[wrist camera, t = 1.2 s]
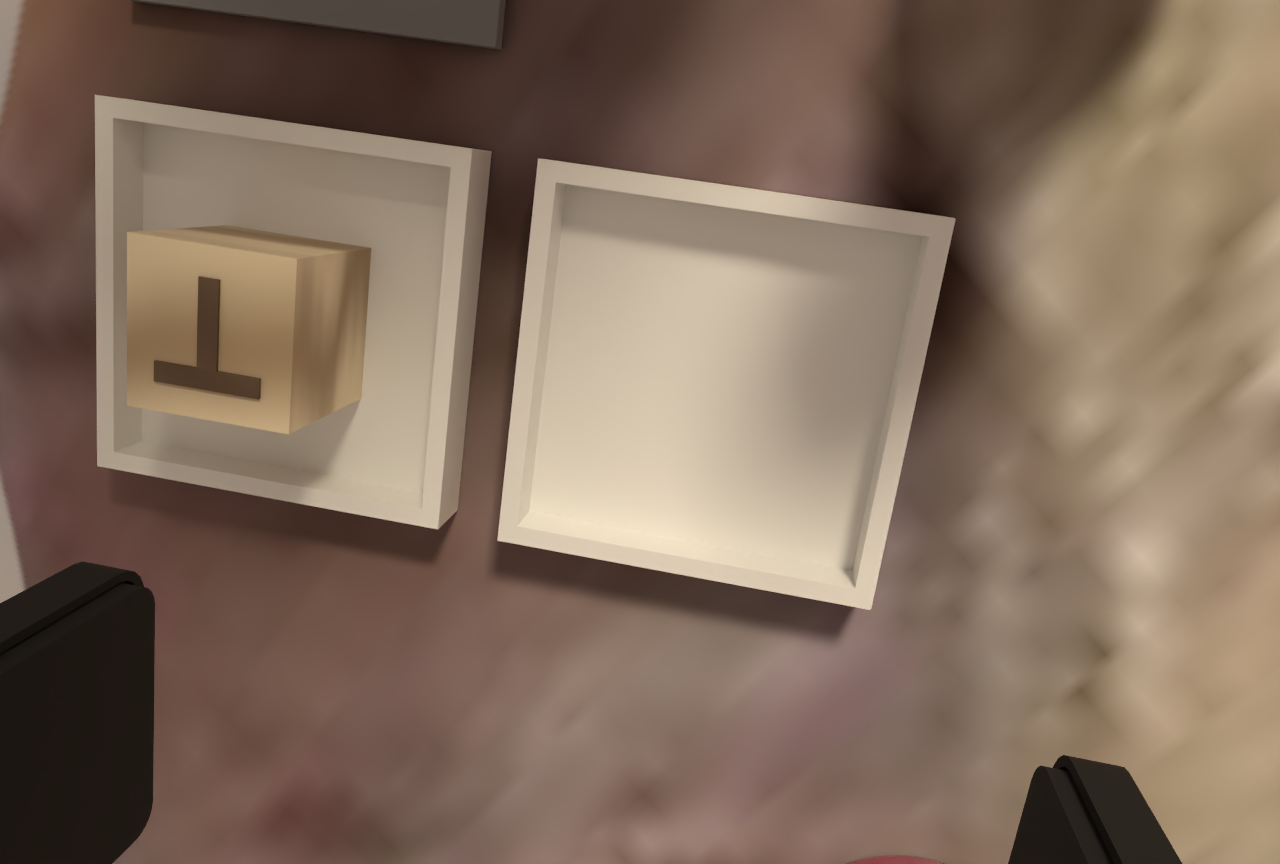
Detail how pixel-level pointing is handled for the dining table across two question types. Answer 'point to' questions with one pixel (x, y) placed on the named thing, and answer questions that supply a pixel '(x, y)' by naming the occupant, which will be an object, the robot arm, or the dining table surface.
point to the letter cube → (245, 325)
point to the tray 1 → (324, 210)
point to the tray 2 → (717, 378)
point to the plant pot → (895, 860)
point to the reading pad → (377, 16)
